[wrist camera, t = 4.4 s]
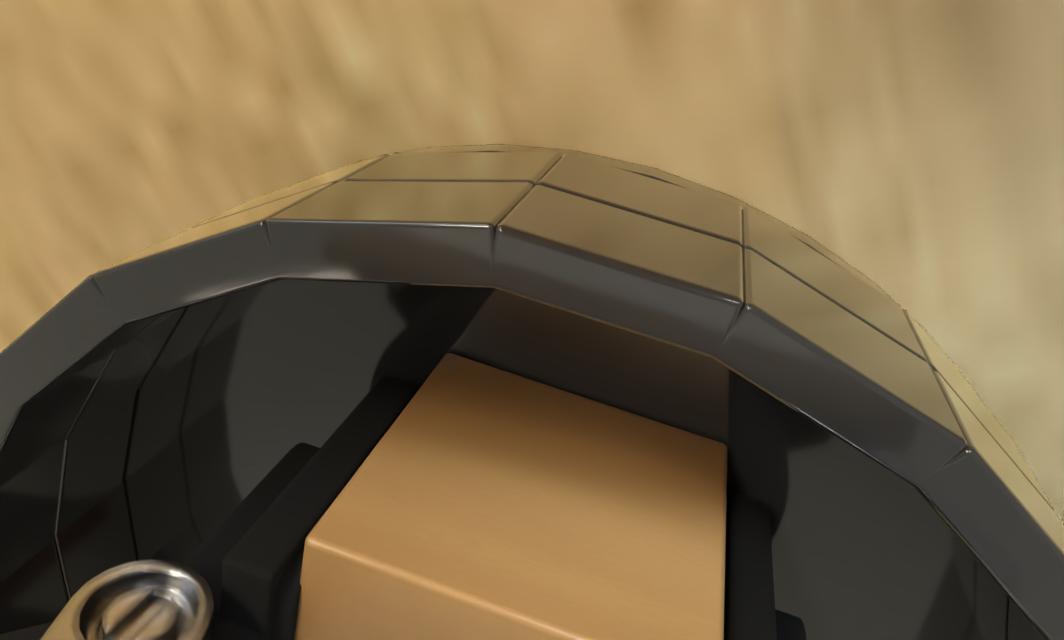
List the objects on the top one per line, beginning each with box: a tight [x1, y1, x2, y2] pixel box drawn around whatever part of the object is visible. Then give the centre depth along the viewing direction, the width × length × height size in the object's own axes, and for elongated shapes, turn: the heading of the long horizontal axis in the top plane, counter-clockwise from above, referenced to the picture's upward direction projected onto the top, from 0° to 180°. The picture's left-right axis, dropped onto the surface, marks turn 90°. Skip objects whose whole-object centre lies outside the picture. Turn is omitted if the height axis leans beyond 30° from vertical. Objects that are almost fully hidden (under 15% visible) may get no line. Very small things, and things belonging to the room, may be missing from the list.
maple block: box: [294, 353, 728, 640], centre depth 10 cm, size 4×4×4 cm
